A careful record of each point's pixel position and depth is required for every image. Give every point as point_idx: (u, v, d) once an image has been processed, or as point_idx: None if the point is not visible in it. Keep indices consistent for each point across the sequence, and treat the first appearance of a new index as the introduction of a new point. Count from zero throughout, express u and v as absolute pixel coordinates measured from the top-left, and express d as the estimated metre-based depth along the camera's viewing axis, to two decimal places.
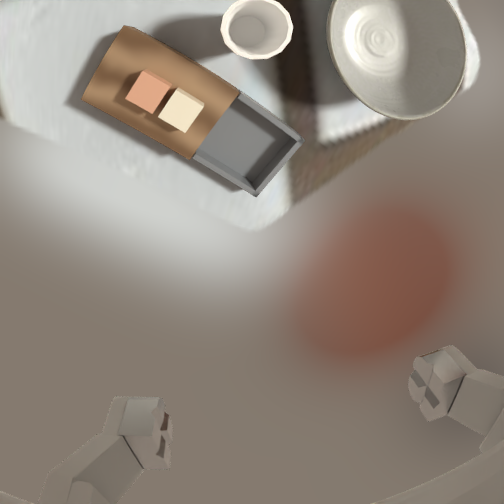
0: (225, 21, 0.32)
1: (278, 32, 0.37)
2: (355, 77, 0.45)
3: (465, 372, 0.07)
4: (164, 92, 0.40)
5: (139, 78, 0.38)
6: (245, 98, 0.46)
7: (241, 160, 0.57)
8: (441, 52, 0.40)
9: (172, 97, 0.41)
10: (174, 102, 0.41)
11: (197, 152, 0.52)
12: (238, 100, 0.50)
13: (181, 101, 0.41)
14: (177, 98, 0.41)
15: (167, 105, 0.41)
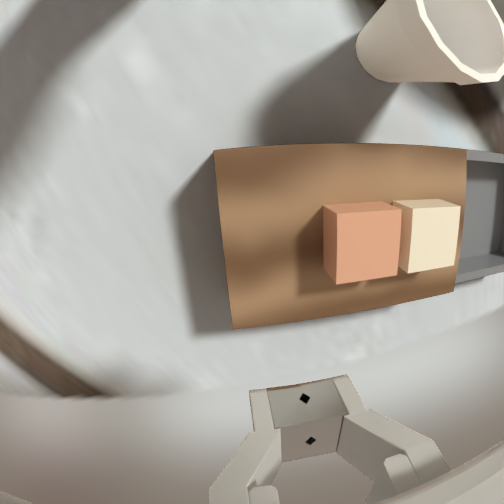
0: (432, 26, 0.12)
1: (455, 22, 0.16)
2: None
3: (347, 411, 0.07)
4: (398, 226, 0.20)
5: (340, 231, 0.20)
6: (467, 152, 0.24)
7: (481, 236, 0.31)
8: None
9: (414, 225, 0.20)
10: (421, 231, 0.21)
11: None
12: None
13: (429, 221, 0.20)
14: (422, 221, 0.20)
15: (413, 244, 0.21)
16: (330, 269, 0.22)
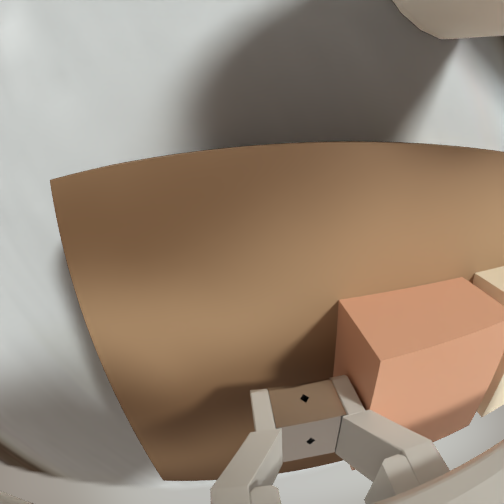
0: None
1: None
2: None
3: (346, 411, 0.07)
4: (500, 350, 0.07)
5: (381, 395, 0.07)
6: None
7: None
8: None
9: None
10: None
11: None
12: None
13: None
14: None
15: None
16: None
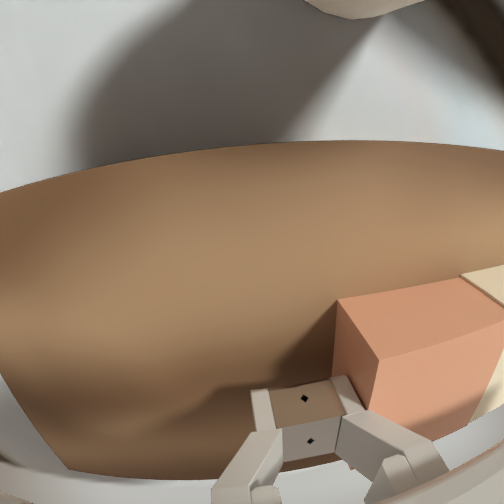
0: None
1: None
2: None
3: (345, 411, 0.07)
4: (499, 350, 0.07)
5: (380, 394, 0.07)
6: None
7: None
8: None
9: None
10: None
11: None
12: None
13: None
14: None
15: (494, 378, 0.07)
16: None
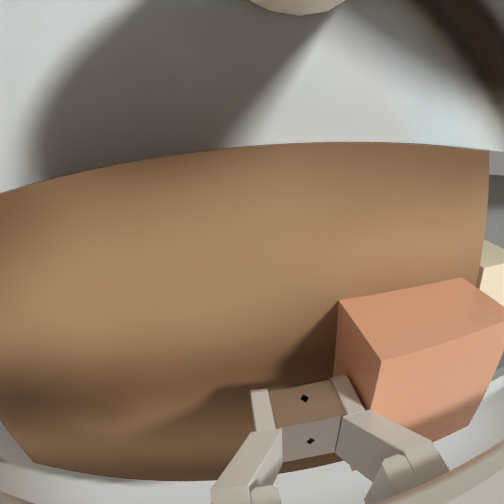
0: None
1: None
2: None
3: (346, 411, 0.07)
4: (500, 350, 0.07)
5: (382, 395, 0.07)
6: None
7: None
8: None
9: None
10: None
11: None
12: None
13: None
14: None
15: None
16: None
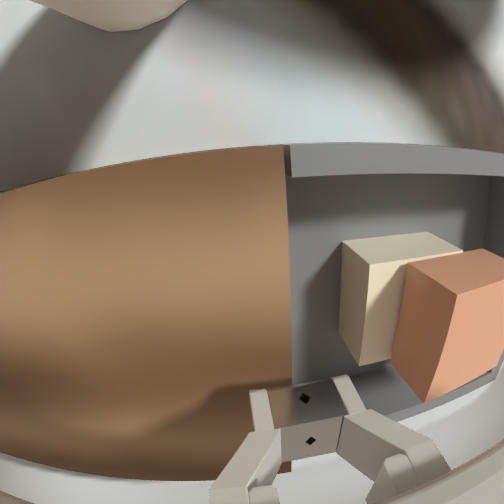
0: None
1: None
2: None
3: (347, 411, 0.07)
4: None
5: (454, 325, 0.09)
6: (325, 153, 0.09)
7: None
8: None
9: None
10: None
11: None
12: (296, 181, 0.13)
13: None
14: None
15: None
16: (411, 375, 0.11)
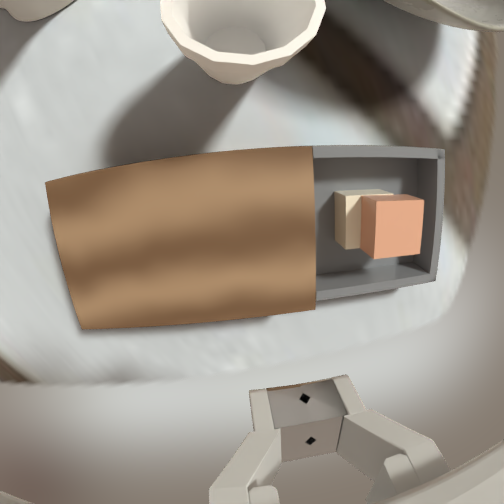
0: (175, 25, 0.13)
1: (281, 1, 0.17)
2: None
3: (347, 411, 0.07)
4: (421, 213, 0.24)
5: (378, 215, 0.24)
6: (325, 149, 0.24)
7: None
8: None
9: None
10: None
11: (316, 285, 0.30)
12: (313, 162, 0.28)
13: None
14: None
15: None
16: (368, 247, 0.26)
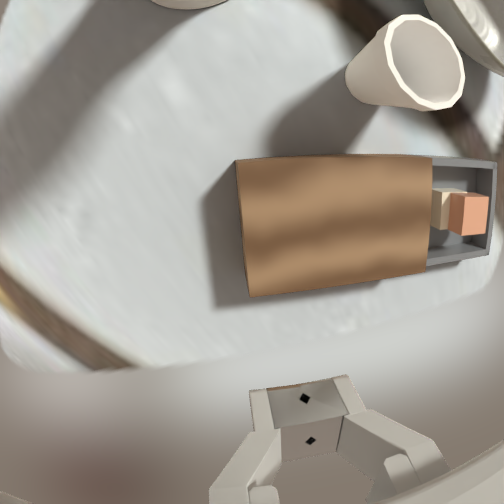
0: (397, 72, 0.20)
1: (424, 57, 0.24)
2: None
3: (347, 411, 0.07)
4: (487, 205, 0.32)
5: (465, 206, 0.32)
6: (434, 159, 0.32)
7: None
8: None
9: None
10: None
11: None
12: None
13: None
14: None
15: None
16: (455, 228, 0.34)
